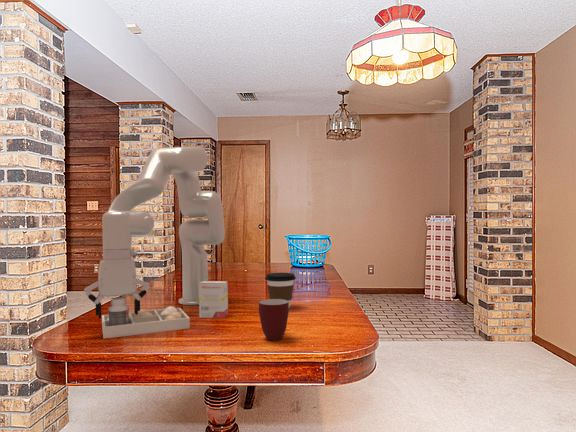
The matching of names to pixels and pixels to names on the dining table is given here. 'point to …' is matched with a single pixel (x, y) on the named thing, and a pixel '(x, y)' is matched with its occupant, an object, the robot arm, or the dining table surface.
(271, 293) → the coffee cup
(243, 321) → the dining table surface
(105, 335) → the grey compartment tray
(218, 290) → the ink box
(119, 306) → the pill bottle
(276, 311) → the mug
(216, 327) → the dining table surface
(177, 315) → the brown egg
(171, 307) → the cream egg
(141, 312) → the brown egg
